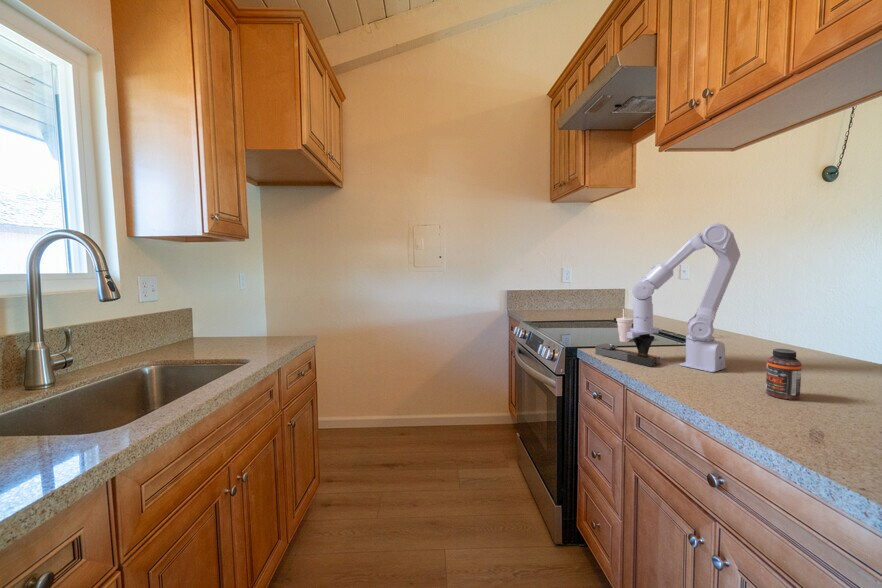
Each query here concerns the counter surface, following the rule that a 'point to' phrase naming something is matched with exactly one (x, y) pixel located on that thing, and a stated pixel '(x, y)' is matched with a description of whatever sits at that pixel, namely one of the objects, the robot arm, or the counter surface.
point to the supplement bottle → (783, 375)
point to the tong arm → (657, 358)
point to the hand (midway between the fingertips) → (642, 356)
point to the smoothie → (624, 327)
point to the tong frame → (623, 355)
